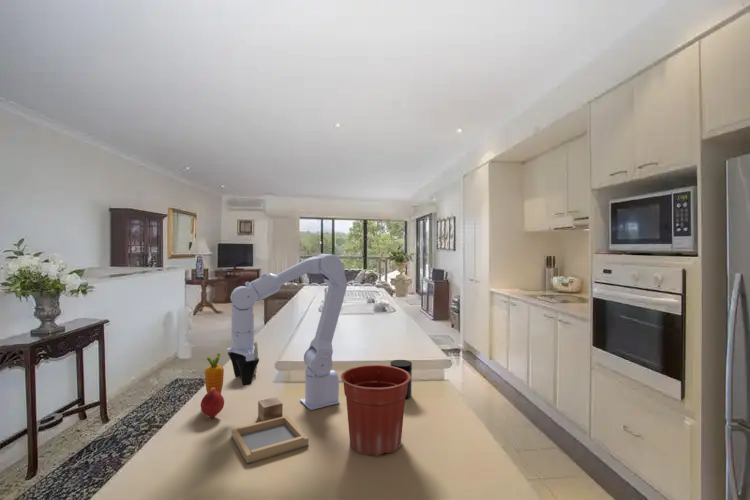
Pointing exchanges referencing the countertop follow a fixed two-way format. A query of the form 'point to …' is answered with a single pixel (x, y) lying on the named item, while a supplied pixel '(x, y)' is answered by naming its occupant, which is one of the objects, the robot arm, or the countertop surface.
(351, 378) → the flower pot
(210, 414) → the onion
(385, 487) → the countertop surface
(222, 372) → the carrot
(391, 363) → the supplement container
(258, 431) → the slate tray
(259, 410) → the walnut block
